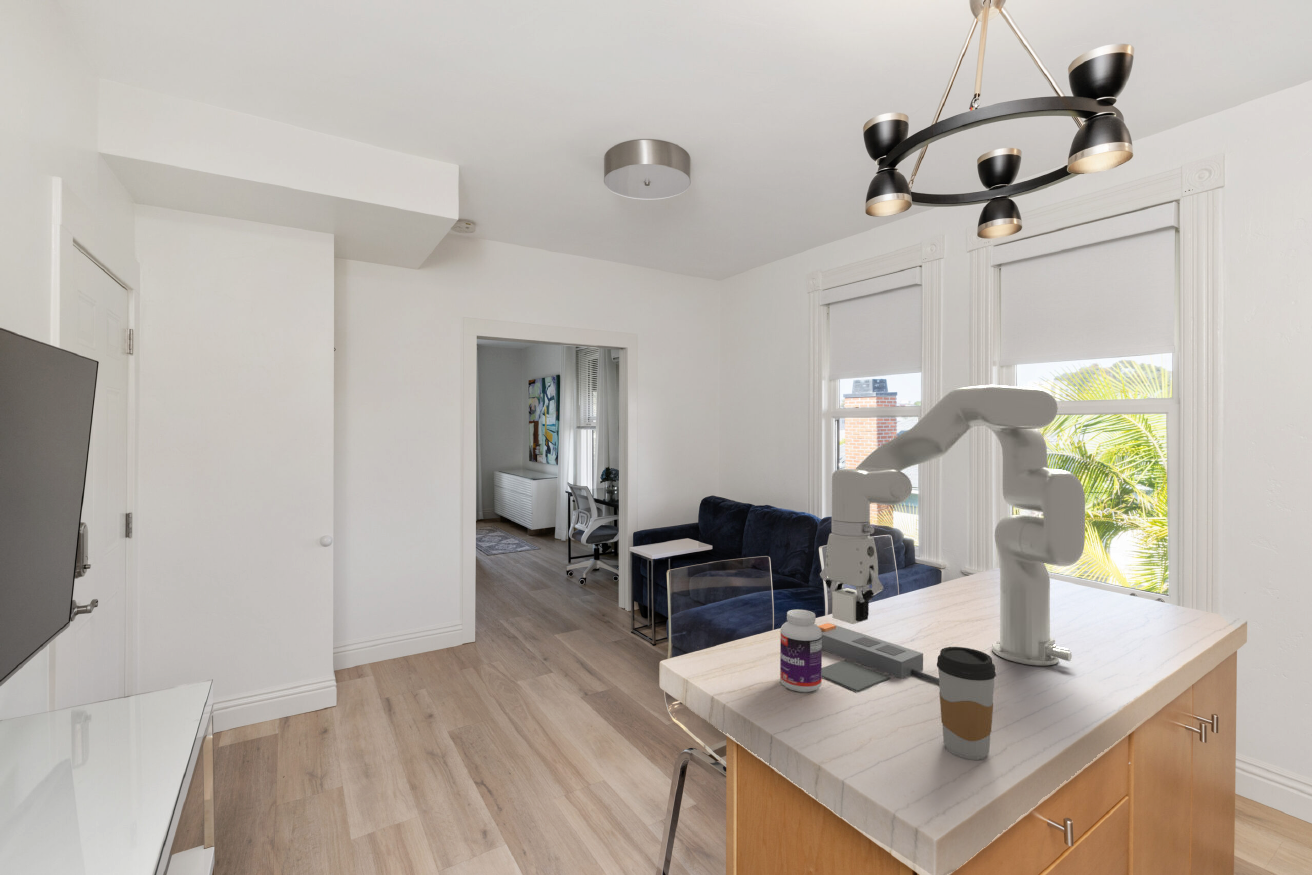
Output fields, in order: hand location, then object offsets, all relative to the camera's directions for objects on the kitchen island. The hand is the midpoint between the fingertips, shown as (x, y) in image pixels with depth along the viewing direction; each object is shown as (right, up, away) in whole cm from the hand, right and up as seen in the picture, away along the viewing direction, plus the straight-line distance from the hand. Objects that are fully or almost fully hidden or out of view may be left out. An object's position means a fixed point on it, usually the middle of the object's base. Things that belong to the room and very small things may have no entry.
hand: (850, 615), depth 119 cm
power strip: (+10, -13, +6) cm, 17 cm away
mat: (0, -13, 0) cm, 13 cm away
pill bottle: (-11, -13, -4) cm, 18 cm away
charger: (0, -1, 0) cm, 1 cm away
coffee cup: (+9, -13, -28) cm, 32 cm away
